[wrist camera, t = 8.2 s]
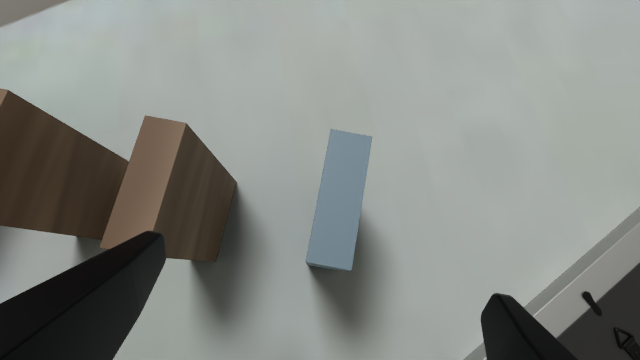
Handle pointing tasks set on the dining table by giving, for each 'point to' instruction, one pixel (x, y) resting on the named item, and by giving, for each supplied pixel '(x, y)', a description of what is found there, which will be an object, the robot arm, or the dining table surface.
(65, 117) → the dining table surface
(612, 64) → the dining table surface
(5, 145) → the domino
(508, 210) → the dining table surface
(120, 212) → the domino
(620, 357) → the picture frame
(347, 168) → the domino
